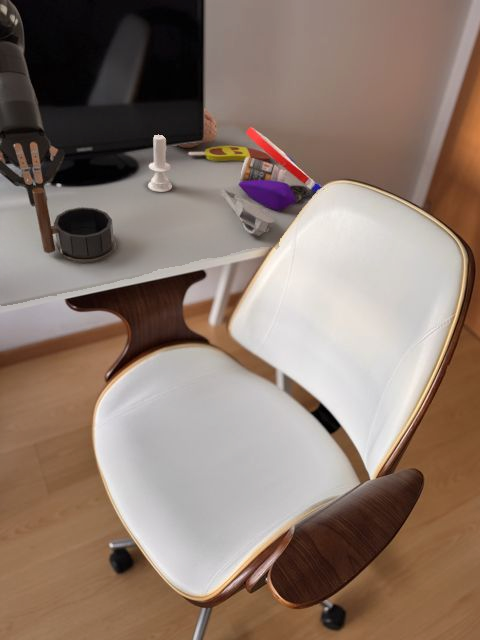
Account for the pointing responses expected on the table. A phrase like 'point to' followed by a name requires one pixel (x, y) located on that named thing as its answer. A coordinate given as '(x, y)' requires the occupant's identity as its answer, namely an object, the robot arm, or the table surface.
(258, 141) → the red toothbrush
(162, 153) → the candle
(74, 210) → the wooden handled pot
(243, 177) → the pill bottle
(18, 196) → the table surface
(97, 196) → the table surface
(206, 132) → the anatomical model
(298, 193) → the corroded twin loop
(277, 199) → the purple lump
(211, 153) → the popsicle
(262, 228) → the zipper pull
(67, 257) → the round base
